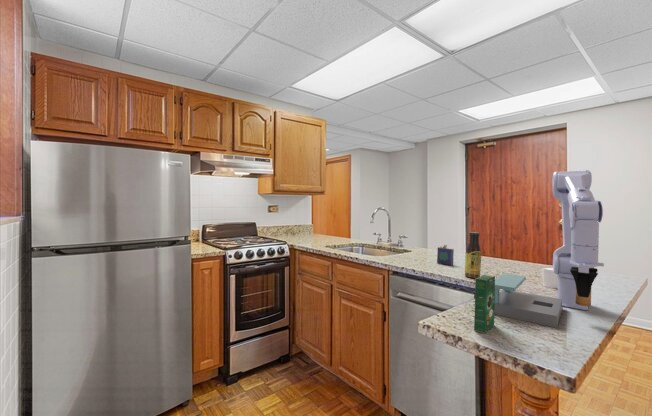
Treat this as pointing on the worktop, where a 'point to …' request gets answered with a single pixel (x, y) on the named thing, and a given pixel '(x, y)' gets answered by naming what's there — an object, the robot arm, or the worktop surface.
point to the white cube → (549, 278)
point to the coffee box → (484, 303)
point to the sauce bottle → (473, 257)
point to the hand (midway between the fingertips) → (583, 295)
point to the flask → (445, 256)
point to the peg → (583, 300)
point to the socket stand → (524, 302)
